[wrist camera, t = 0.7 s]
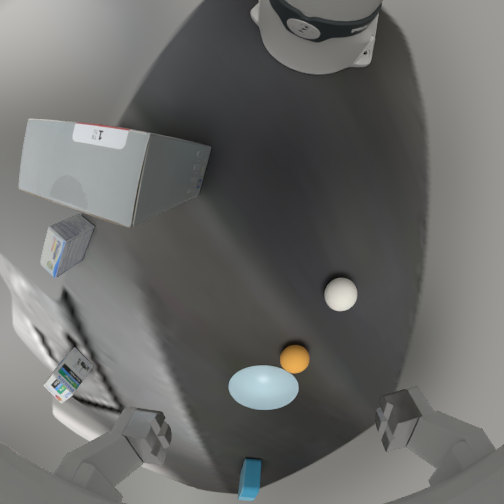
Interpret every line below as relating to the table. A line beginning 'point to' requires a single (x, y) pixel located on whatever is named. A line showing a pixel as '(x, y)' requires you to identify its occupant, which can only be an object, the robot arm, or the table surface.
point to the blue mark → (263, 387)
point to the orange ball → (294, 358)
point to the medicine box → (66, 244)
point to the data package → (249, 479)
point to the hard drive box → (110, 169)
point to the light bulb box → (68, 375)
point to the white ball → (340, 294)
